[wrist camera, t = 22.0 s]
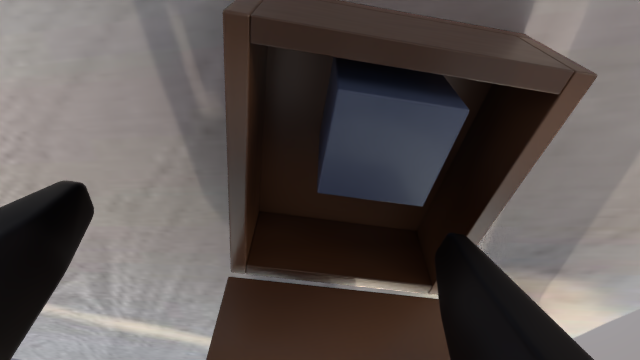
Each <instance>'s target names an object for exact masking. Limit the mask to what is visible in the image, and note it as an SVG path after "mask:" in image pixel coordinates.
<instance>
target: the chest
mask: <svg viewBox="0 0 640 360" xmlns="http://www.w3.org/2000/svg"><path fill="white" fill-rule="evenodd" d="M223 39H224V70H225V101H226V132H227V164H228V195H229V226H230V257H231V272H232V273H242V274H245V273H246V274H249V275H258V276H267V277H276V278H285V279H295V280H304V281H313V282H322V283H332V284H341V285H350V286H359V287H369V288H378V289H387V290H396V291H406V292H415V293H424V294H434V295H438V287H437V279H436V270H435V260H434V259H435V253H436V251H437V249H438V248H439V246H440V244H441V243H442V241H443V240H444V238H445V236H446V235H447V234H449V233H457V234H463V235H466V236H467V237H468V238H469V239H470V240H471V241H472V242H473V243H474V244H475V245H476V246H477V244H478V243H479V242H480V240H481V239H482V237H483V236H484V235H485V233H486V232H487V230H488V229H489V228H490V226H491V225H492V223H493V222H494V221H495V219H496V218H497V216H498V215H499V214H500V212H501V211H502V209H503V208H504V207H505V205H506V204H507V202H508V201H509V200H510V198H511V197H512V195H513V194H514V193H515V191H516V190H517V188H518V187H519V186H520V184H521V183H522V181H523V180H524V179H525V177H526V176H527V174H528V173H529V171H530V170H531V169H532V167H533V166H534V164H535V163H536V162H537V160H538V159H539V157H540V156H541V155H542V153H543V152H544V150H545V149H546V148H547V146H548V145H549V143H550V142H551V141H552V139H553V138H554V136H555V135H556V134H557V132H558V131H559V129H560V128H561V127H562V125H563V124H564V122H565V121H566V120H567V118H568V117H569V115H570V114H571V113H572V111H573V110H574V108H575V107H576V106H577V104H578V103H579V101H580V100H581V99H582V97H583V96H584V94H585V93H586V92H587V90H588V89H589V87H590V86H591V85H592V83H593V82H594V80H595V79H596V78H597V74H595V73H593V72H592V71H590V70H588V69H586V68H584V67H583V66H581V65H579V64H577V63H575V62H574V61H572V60H570V59H568V58H566V57H565V56H563V55H561V54H559V53H558V52H556V51H554V50H552V49H550V48H549V47H547V46H545V45H543V44H541V43H540V42H538V41H536V40H534V39H532V38H531V37H529V36H527V35H525V34H521V33H516V32H510V31H505V30H499V29H494V28H488V27H483V26H477V25H472V24H466V23H461V22H455V21H450V20H444V19H439V18H433V17H428V16H422V15H416V14H411V13H405V12H400V11H394V10H389V9H383V8H378V7H372V6H367V5H361V4H356V3H350V2H345V1H339V0H235V1H234V2H233V3H232V4H230V5H229V6H228V7H227V8H226V9H224V10H223ZM333 57H336V58H342V59H348V60H354V61H360V62H366V63H372V64H378V65H384V66H390V67H396V68H402V69H408V70H414V71H421V72H427V73H433V74H439V75H443V76H444V77H445V78H446V80H447V81H448V82H449V84H450V85H451V86H452V88H453V89H454V90H455V91H456V93H457V94H458V95H459V97H460V98H461V99H462V101H463V102H464V103H465V105H466V106H467V107H468V109H469V113H468V115H467V117H466V119H465V121H464V124H463V126H462V128H461V130H460V132H459V134H458V136H457V138H456V140H455V142H454V144H453V146H452V148H451V150H450V152H449V154H448V156H447V158H446V160H445V162H444V164H443V166H442V168H441V170H440V172H439V174H438V176H437V179H436V181H435V183H434V185H433V187H432V189H431V191H430V193H429V195H428V197H427V199H426V201H425V203H424V205H423V206H422V207H421V206H413V205H405V204H398V203H390V202H382V201H375V200H367V199H359V198H352V197H344V196H336V195H329V194H321V193H318V192H317V179H318V156H319V135H320V129H321V124H322V118H323V112H324V107H325V101H326V96H327V90H328V84H329V79H330V73H331V67H332V62H333Z"/></svg>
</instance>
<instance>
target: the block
mask: <svg viewBox="0 0 640 360" xmlns="http://www.w3.org/2000/svg"><path fill="white" fill-rule="evenodd" d="M468 113H469V109H468V107H467V106H466V105H465V103H464V102H463V101H462V99H461V98H460V97H459V95H458V94H457V93H456V91H455V90H454V89H453V88H452V86H451V85H450V84H449V82H448V81H447V80H446V78H445V77H444V76H443V75H439V74H433V73H427V72H421V71H414V70H408V69H402V68H396V67H390V66H384V65H378V64H372V63H366V62H360V61H354V60H348V59H342V58H336V57H333V62H332V67H331V73H330V79H329V84H328V90H327V96H326V101H325V107H324V112H323V118H322V124H321V129H320V135H319V156H318V179H317V192H318V193H321V194H329V195H336V196H344V197H352V198H359V199H367V200H375V201H382V202H390V203H398V204H405V205H413V206H421V207H422V206H423V205H424V203H425V201H426V199H427V197H428V195H429V193H430V191H431V189H432V187H433V185H434V183H435V181H436V179H437V176H438V174H439V172H440V170H441V168H442V166H443V164H444V162H445V160H446V158H447V156H448V154H449V152H450V150H451V148H452V146H453V144H454V142H455V140H456V138H457V136H458V134H459V132H460V130H461V128H462V126H463V124H464V121H465V119H466V117H467V115H468Z"/></svg>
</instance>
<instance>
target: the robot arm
mask: <svg viewBox="0 0 640 360" xmlns="http://www.w3.org/2000/svg"><path fill="white" fill-rule="evenodd" d="M93 214H94V207H93V204H92V201H91V199H90V196H89V193H88V191H87V188H86V186H85V185H84V184H83V183H80V182H73V181H60V182H58V183H55V184H53V185H51V186H48V187H46V188H44V189H42V190H39V191H37V192H35V193H32V194H30V195H28V196H25V197H23V198H21V199H19V200H16V201H14V202H12V203H9V204H7V205H5V206H2V207H0V360H11V358H12V356H13V355H14V353H15V352H16V350H17V348H18V347H19V345H20V344H21V342H22V341H23V339H24V337H25V336H26V334H27V333H28V331H29V330H30V328H31V326H32V325H33V323H34V322H35V320H36V319H37V317H38V315H39V314H40V312H41V311H42V309H43V307H44V306H45V304H46V303H47V301H48V300H49V298H50V296H51V295H52V293H53V292H54V290H55V289H56V287H57V285H58V284H59V282H60V281H61V279H62V277H63V276H64V274H65V272H66V270H67V268H68V266H69V265H70V263H71V260H72V258H73V256H74V254H75V252H76V250H77V248H78V246H79V244H80V242H81V240H82V238H83V236H84V234H85V232H86V230H87V228H88V226H89V224H90V222H91V220H92V217H93ZM434 260H435V270H436V279H437V287H438V296H439V305H440V313H441V318H442V323H443V328H444V333H445V337H446V341H447V346H448V350H449V355H450V359H451V360H594V359H593V358H592V357H591V356H590V355H588V353H586V352H585V351H584V350H583V349H582V348H581V347H580V346H579V345H578V344H577V343H576V342H575V341H574V340H573V339H572V338H571V337H570V336H569V335H568V334H567V333H566V332H565V331H564V330H563V329H562V328H561V327H560V326H559V325H558V324H557V323H556V322H555V321H554V320H553V319H551V318H550V317H549V316H548V315H547V314H546V313H545V312H544V311H543V310H542V309H541V308H540V307H539V306H538V305H537V304H536V303H535V302H534V301H533V300H532V299H531V298H530V297H529V296H528V295H527V294H526V293H525V292H524V291H523V290H522V289H521V288H520V287H519V286H518V285H516V284H515V283H514V282H513V281H512V280H511V279H510V278H509V277H508V276H507V275H506V274H505V273H504V272H503V271H502V270H501V269H500V268H499V267H498V266H497V265H496V264H495V263H494V262H493V261H492V260H491V259H490V258H489V257H488V256H487V255H486V254H485V253H484V252H483V251H482V250H480V249H479V248H478V247H477V246H476V245H475V244H474V243H473V242H472V241H471V240H470V239H469V238H468V237H467V236H466V235H463V234H457V233H449V234H447V235H446V236H445V238H444V240H443V241H442V243H441V244H440V246H439V248H438V249H437V251H436V253H435V259H434Z"/></svg>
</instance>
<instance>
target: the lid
mask: <svg viewBox="0 0 640 360" xmlns="http://www.w3.org/2000/svg"><path fill="white" fill-rule="evenodd" d="M206 360H451V359H450V355H449V350H448V346H447V341H446V337H445V333H444V328H443V323H442V318H441V313H440V305H439V299H432V298H423V297H413V296H404V295H395V294H385V293H376V292H367V291H357V290H348V289H339V288H329V287H320V286H311V285H301V284H292V283H283V282H273V281H264V280H255V279H245V278H236V277H228V280H227V284H226V288H225V292H224V295H223V299H222V303H221V307H220V310H219V314H218V318H217V321H216V325H215V329H214V333H213V336H212V340H211V344H210V348H209V351H208V355H207V359H206Z"/></svg>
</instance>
